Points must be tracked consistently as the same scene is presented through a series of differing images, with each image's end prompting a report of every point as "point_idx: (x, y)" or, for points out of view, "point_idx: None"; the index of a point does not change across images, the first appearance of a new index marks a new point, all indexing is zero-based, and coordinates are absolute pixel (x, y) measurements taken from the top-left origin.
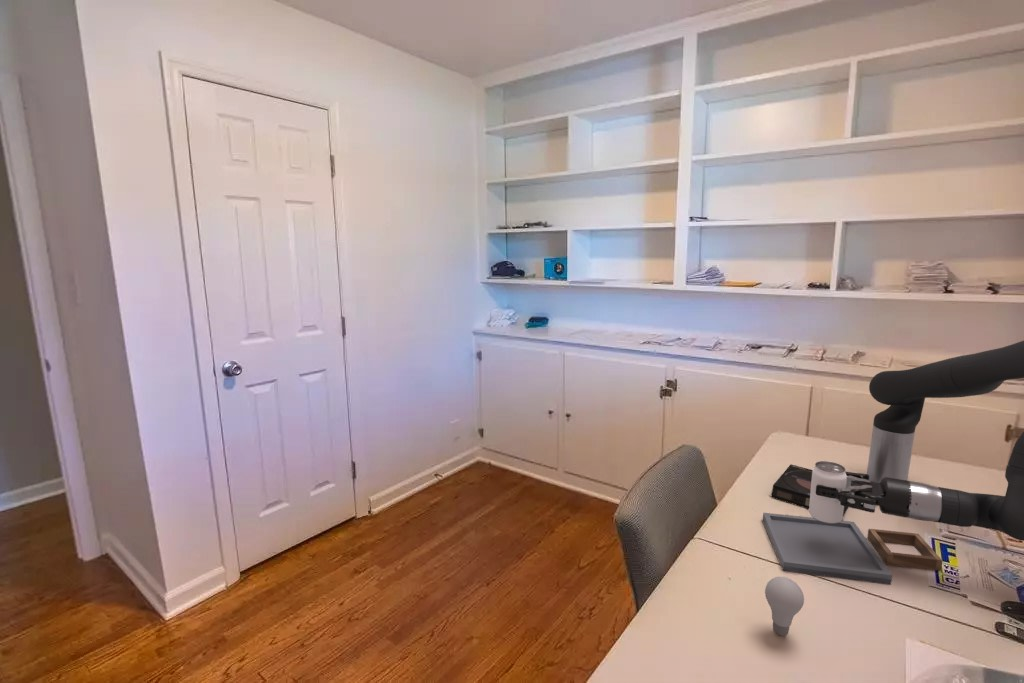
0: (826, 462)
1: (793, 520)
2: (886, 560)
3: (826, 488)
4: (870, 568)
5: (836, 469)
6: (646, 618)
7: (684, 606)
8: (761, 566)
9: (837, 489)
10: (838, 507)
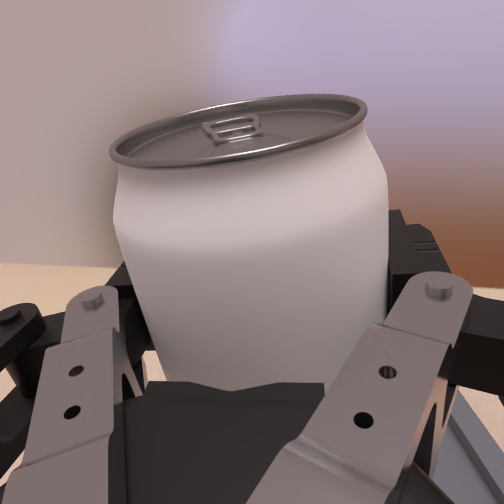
0: (355, 112)
1: (461, 438)
2: None
3: None
4: None
5: (214, 152)
6: (11, 266)
7: (27, 290)
8: (153, 375)
9: (97, 286)
10: None
